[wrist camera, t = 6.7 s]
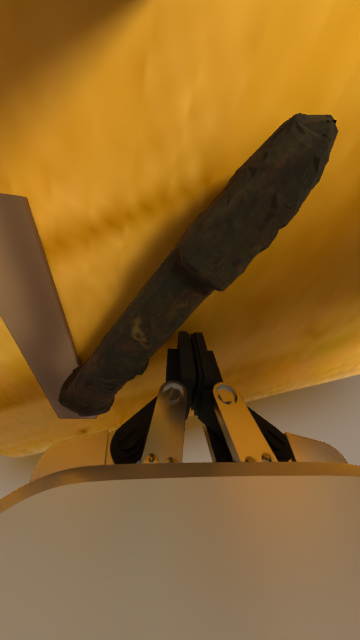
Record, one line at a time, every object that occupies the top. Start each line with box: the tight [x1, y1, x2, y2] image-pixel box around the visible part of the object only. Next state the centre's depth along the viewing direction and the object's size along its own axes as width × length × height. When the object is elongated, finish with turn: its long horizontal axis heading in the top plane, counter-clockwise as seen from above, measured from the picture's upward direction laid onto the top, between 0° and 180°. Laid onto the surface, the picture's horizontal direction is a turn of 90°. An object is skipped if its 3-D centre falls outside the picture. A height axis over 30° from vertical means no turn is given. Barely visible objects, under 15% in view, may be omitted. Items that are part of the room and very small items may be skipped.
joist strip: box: [0, 193, 97, 419], centre depth 12 cm, size 4×20×1 cm, turn 174°
